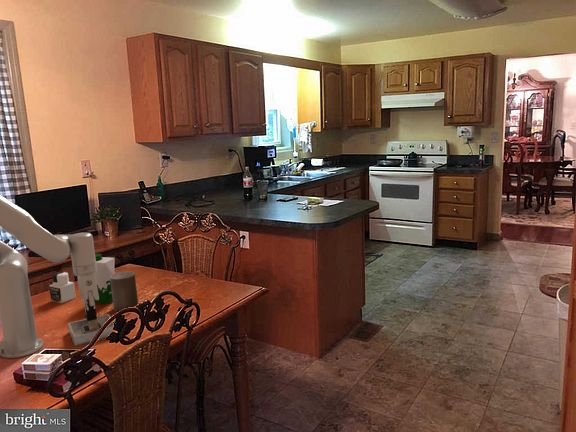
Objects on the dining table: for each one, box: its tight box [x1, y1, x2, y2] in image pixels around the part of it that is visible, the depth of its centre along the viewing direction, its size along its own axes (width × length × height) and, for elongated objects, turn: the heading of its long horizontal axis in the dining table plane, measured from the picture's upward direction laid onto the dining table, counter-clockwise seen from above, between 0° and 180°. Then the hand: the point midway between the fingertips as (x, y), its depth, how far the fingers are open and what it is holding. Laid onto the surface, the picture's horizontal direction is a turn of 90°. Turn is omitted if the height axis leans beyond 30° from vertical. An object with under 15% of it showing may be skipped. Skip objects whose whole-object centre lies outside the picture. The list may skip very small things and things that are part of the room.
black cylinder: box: [82, 300, 99, 331], centre depth 163 cm, size 3×3×12 cm
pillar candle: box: [110, 271, 139, 312], centre depth 187 cm, size 10×10×15 cm
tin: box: [67, 313, 115, 348], centre depth 164 cm, size 14×14×4 cm
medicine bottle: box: [48, 271, 77, 304], centre depth 198 cm, size 7×7×12 cm
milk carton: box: [94, 253, 116, 305], centre depth 194 cm, size 9×9×20 cm
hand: (91, 317), depth 163 cm, fingers closed on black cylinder, 3 cm apart
